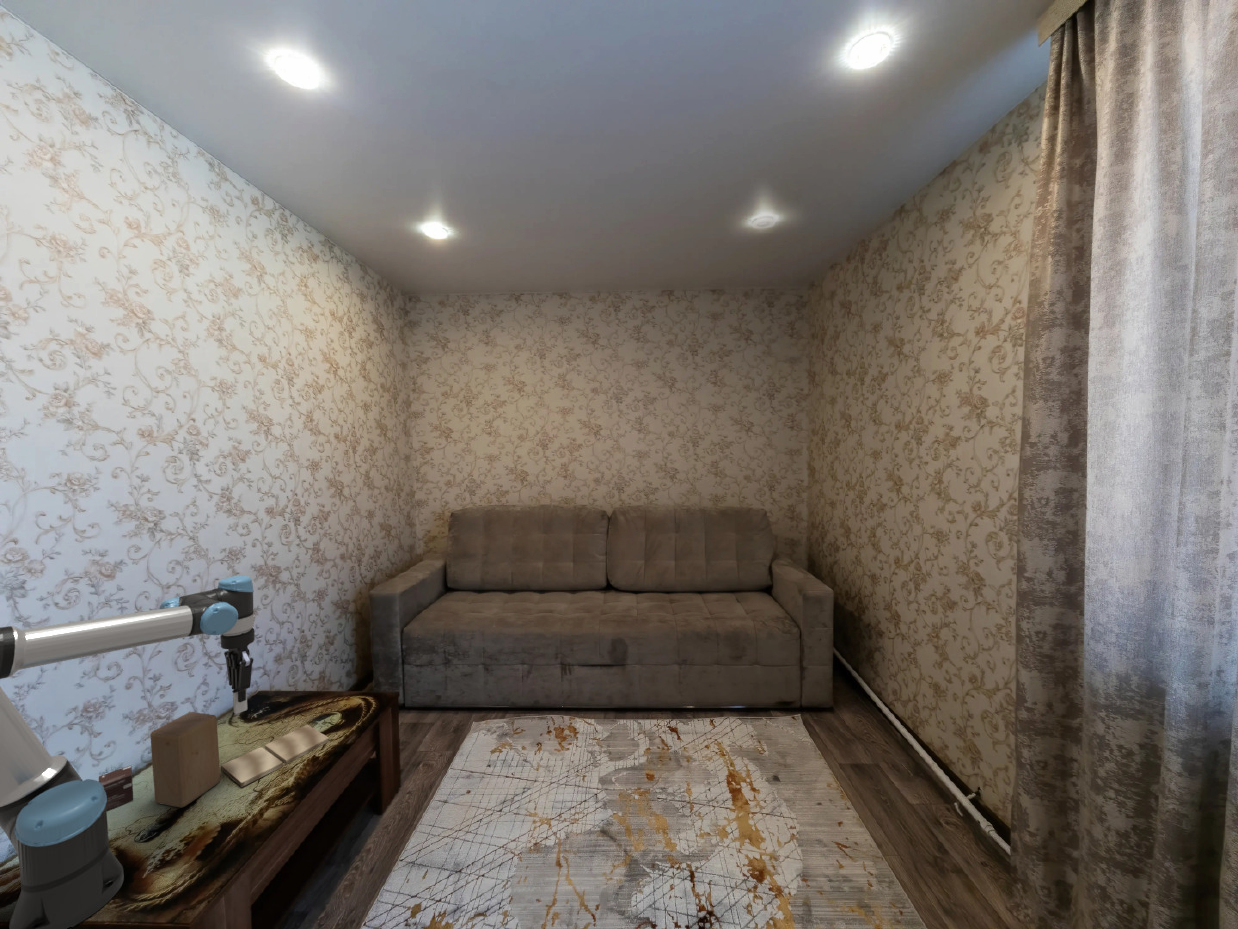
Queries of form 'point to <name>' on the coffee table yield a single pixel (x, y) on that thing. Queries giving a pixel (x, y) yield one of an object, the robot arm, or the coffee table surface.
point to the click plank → (251, 766)
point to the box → (118, 787)
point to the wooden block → (185, 759)
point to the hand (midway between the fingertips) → (240, 711)
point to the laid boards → (296, 744)
